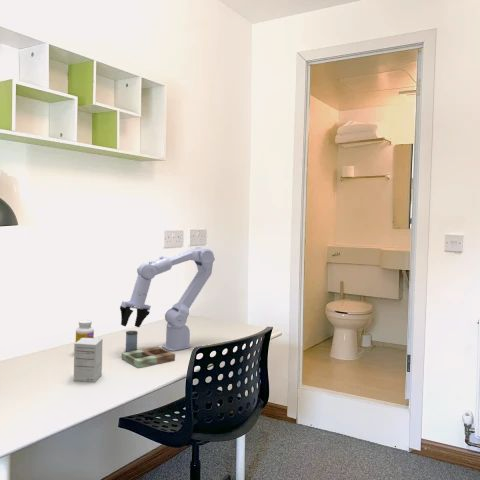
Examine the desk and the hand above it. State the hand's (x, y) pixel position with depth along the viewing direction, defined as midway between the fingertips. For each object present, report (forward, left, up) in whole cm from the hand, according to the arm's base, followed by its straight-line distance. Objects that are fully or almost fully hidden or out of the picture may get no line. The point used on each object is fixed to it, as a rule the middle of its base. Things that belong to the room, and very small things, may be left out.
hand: (130, 326), depth 189 cm
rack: (-1, +12, -11) cm, 16 cm away
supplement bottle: (+15, -8, -11) cm, 20 cm away
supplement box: (+25, +17, -11) cm, 33 cm away
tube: (-1, -1, -11) cm, 11 cm away
